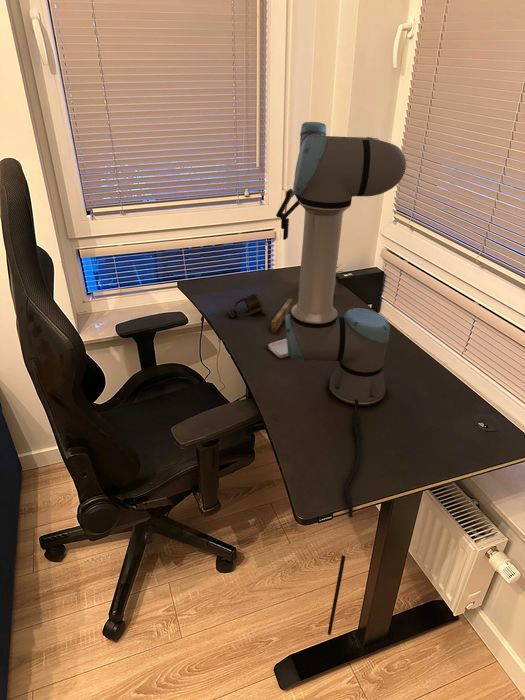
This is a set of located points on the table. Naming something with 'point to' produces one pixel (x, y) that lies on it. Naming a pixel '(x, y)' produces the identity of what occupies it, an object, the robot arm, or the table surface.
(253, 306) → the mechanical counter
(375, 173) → the robot arm
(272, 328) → the rail
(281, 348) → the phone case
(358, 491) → the table surface
